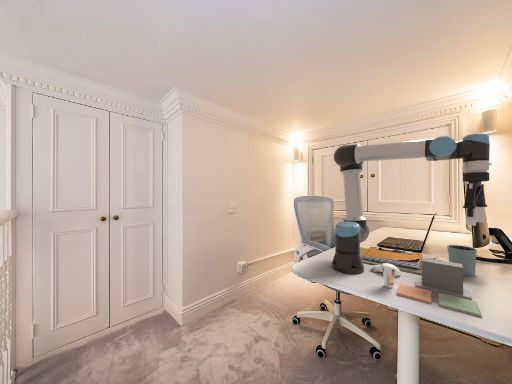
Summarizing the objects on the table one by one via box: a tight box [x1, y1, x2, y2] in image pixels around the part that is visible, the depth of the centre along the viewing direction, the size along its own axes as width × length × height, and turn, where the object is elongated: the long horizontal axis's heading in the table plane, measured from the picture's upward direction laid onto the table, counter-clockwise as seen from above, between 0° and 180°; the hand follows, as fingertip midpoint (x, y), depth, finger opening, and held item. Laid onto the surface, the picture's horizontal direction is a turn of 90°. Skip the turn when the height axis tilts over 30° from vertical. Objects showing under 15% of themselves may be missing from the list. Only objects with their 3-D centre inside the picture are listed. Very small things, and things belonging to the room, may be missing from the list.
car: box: [370, 262, 402, 278], centre depth 100 cm, size 12×6×5 cm, turn 44°
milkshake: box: [379, 261, 395, 289], centre depth 86 cm, size 4×5×10 cm
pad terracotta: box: [396, 283, 433, 305], centre depth 79 cm, size 10×10×1 cm
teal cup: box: [446, 244, 478, 277], centre depth 100 cm, size 10×10×12 cm
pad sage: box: [437, 292, 483, 318], centre depth 71 cm, size 10×10×1 cm
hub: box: [415, 257, 473, 301], centre depth 82 cm, size 16×8×11 cm, turn 49°
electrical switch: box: [429, 255, 440, 260], centre depth 93 cm, size 9×5×9 cm, turn 141°
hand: (475, 223), depth 84 cm, fingers open, 13 cm apart
